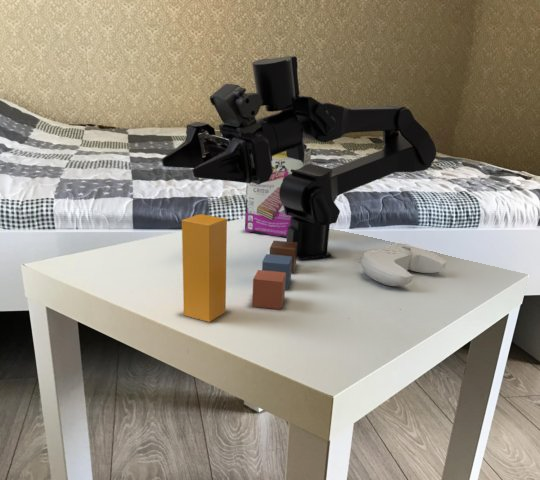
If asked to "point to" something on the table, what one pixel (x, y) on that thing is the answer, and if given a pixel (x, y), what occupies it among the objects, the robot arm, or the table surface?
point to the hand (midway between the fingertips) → (177, 167)
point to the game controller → (399, 263)
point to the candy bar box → (271, 198)
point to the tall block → (204, 266)
